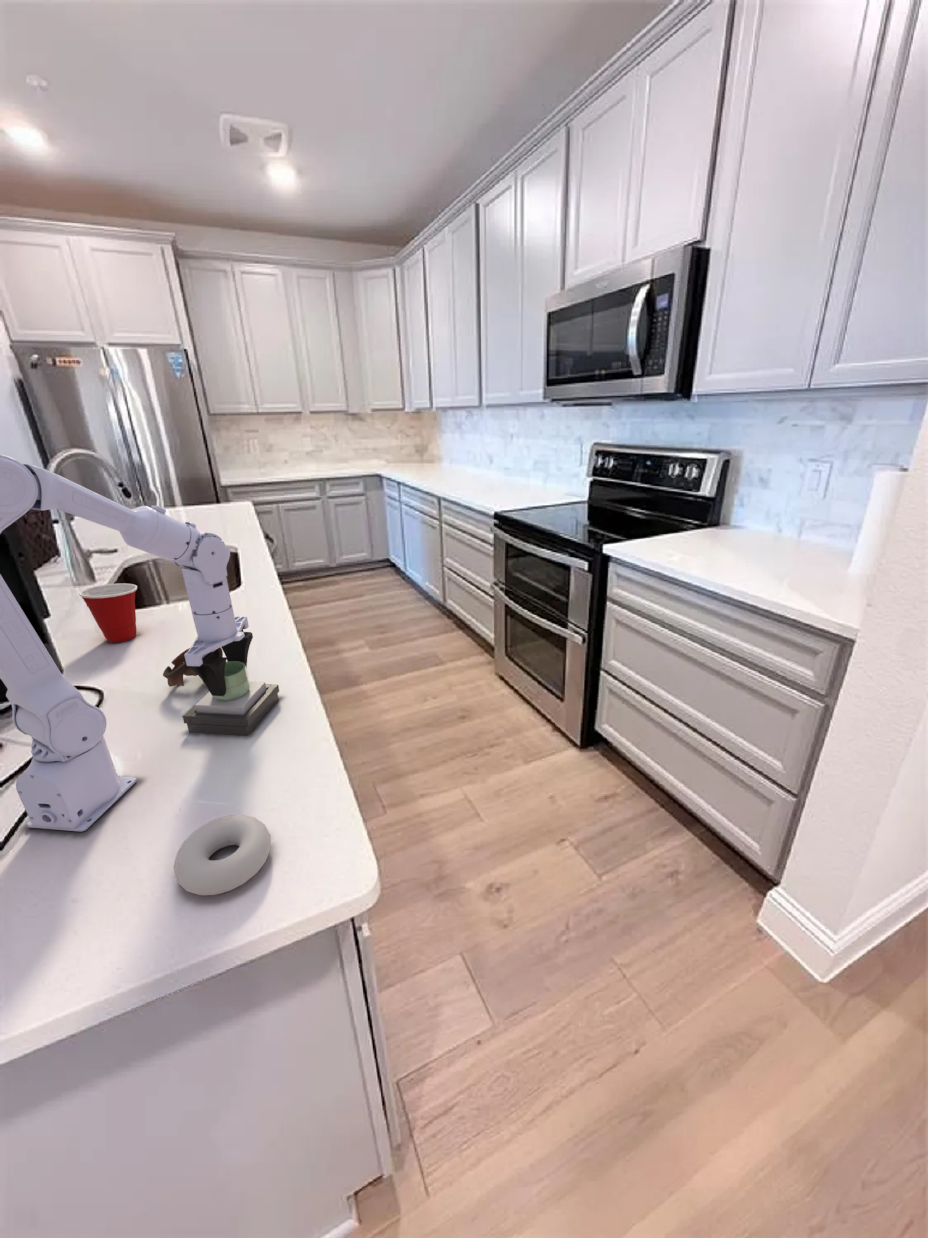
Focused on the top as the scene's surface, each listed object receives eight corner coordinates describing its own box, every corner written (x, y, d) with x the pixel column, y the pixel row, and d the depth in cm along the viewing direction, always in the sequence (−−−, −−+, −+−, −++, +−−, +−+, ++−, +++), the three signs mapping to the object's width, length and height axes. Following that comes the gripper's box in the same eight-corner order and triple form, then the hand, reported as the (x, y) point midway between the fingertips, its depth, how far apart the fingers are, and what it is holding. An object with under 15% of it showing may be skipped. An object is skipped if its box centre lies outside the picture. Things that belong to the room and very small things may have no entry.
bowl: (239, 703, 81) (233, 678, 80) (205, 701, 82) (199, 677, 80) (256, 684, 87) (251, 661, 85) (224, 683, 87) (219, 660, 86)
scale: (250, 735, 80) (246, 719, 79) (186, 732, 81) (181, 716, 80) (281, 698, 90) (278, 684, 89) (223, 696, 92) (220, 681, 90)
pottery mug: (219, 699, 91) (184, 669, 87) (183, 714, 95) (148, 686, 90) (246, 654, 101) (215, 625, 97) (212, 669, 104) (182, 642, 100)
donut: (280, 878, 56) (266, 818, 64) (275, 856, 54) (261, 797, 63) (178, 920, 52) (177, 849, 60) (170, 896, 50) (170, 827, 58)
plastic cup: (160, 632, 118) (147, 583, 114) (113, 651, 110) (97, 599, 105) (131, 624, 123) (117, 577, 118) (84, 642, 114) (67, 592, 109)
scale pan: (243, 716, 81) (241, 707, 80) (196, 714, 82) (194, 705, 81) (267, 690, 88) (265, 682, 87) (223, 688, 89) (221, 680, 88)
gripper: (209, 627, 71) (228, 709, 77) (259, 592, 85) (272, 664, 90) (163, 626, 72) (185, 707, 77) (219, 591, 85) (235, 663, 91)
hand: (229, 684), depth 84 cm, fingers closed on bowl, 6 cm apart
